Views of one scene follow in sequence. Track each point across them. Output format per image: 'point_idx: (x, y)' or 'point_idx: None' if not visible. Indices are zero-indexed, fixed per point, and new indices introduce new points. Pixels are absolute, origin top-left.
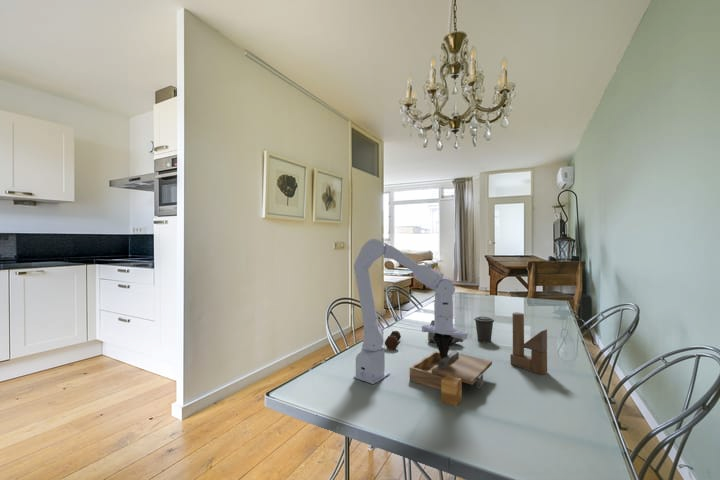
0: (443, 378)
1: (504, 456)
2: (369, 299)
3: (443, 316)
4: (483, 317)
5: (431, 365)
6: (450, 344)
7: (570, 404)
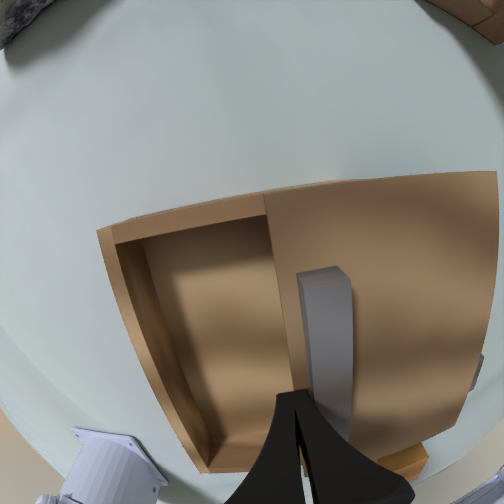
0: None
1: (469, 441)
2: None
3: None
4: None
5: (163, 302)
6: (353, 448)
7: None
